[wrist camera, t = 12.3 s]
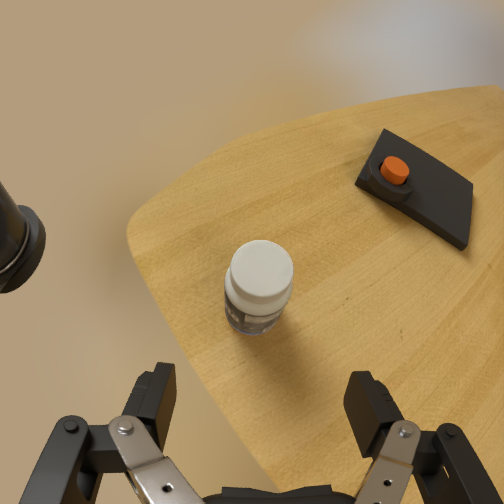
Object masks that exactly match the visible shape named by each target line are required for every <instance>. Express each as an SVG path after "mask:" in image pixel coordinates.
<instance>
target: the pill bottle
mask: <svg viewBox="0 0 504 504" xmlns="http://www.w3.org/2000/svg"><path fill="white" fill-rule="evenodd" d="M293 274H294V267H293V262H292V260H291V257H290V256H289V254H288V253H287V252H286V251H285V250H284V249H283V248H282V247H281V246H279V245H277V244H276V243H273V242H270V241H266V240H255V241H251V242H248V243H246V244H244V245H243V246H241V247H240V248H239V249H238V250H237V251H236V252H235V254H234V256H233V258H232V261H231V265H230V267H229V268H228V270H227V273H226V277H225V313H226V317H227V319H228V321H229V323H230V324H231V326H232V327H233V328H234V329H236V330H237V331H239V332H240V333H243V334H246V335H260V334H263V333H266V332H267V331H269V330H270V329H271V328H272V327H273V326H274V325H275V324H276V322H277V321H278V319H279V317H280V315H281V313H282V311H283V309H284V307H285V306H286V304H287V302H288V300H289V298H290V296H291V293H292V279H293Z"/></svg>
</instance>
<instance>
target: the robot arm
mask: <svg viewBox="0 0 504 504" xmlns="http://www.w3.org/2000/svg"><path fill="white" fill-rule="evenodd" d="M29 238H30V223H29V220H28V219H27V217H26V216H25V215H24V213H22V212H21V210H20V209H19V208H18V206H17V205H16V204H15V202H14V201H13V199H12V198H11V196H10V195H9V194H8V192H7V191H6V189H5V188H4V186H3V185H2V183H1V182H0V275H3V274H5V273H6V272H8V271H9V270H10V269H12V268H13V267H14V266H15V265H16V264H17V262H18V261H19V260H20V258H21V257H22V255H23V254H24V252H25V250H26V248H27V245H28V242H29ZM176 393H177V390H176V375H175V365H174V364H171V363H163V362H158V363H157V364H156V367H155V370H154V372H148V371H145V372H144V373H143V374H142V375H141V376H139V377H138V379H137V381H136V383H135V387H134V388H133V390H132V393H131V394H130V397H129V399H128V401H127V403H126V406H125V408H124V410H123V412H122V415H121V416H119V417H116V418H114V419H113V420H112V421H111V422H110V423H109V424H108V425H88V424H87V422H86V421H85V420H84V419H83V418H81V417H79V416H74V415H70V416H65V417H63V418H61V419H60V420H59V421H58V422H57V423H56V425H55V427H54V429H53V431H52V433H51V435H50V437H49V439H48V441H47V443H46V445H45V447H44V449H43V451H42V453H41V455H40V457H39V460H38V461H37V463H36V466H35V468H34V470H33V472H32V474H31V476H30V479H29V481H28V483H27V485H26V488H25V490H24V492H23V495H22V497H21V499H20V502H19V504H95V501H96V497H97V494H98V490H99V487H100V483H101V480H102V476H103V473H123V472H124V474H125V475H126V477H127V479H128V481H129V483H130V484H131V486H132V488H133V490H134V491H135V493H136V495H137V496H138V498H139V500H140V501H141V503H142V504H400V502H401V500H402V497H403V495H404V492H405V490H406V487H407V484H408V482H409V479H410V476H411V474H413V475H414V477H415V480H416V483H417V485H418V488H419V491H420V493H421V496H422V499H423V501H424V504H503V502H502V500H501V498H500V496H499V494H498V492H497V490H496V488H495V487H494V485H493V483H492V481H491V479H490V477H489V476H488V474H487V472H486V470H485V468H484V467H483V465H482V463H481V461H480V460H479V458H478V456H477V454H476V453H475V451H474V449H473V448H472V446H471V444H470V443H469V441H468V439H467V438H466V436H465V434H464V433H463V431H462V430H461V428H460V427H458V426H457V425H455V424H452V423H444V424H442V425H440V426H439V427H438V429H437V431H421V430H420V428H419V427H418V426H417V425H416V424H415V423H413V422H411V421H408V420H405V419H404V417H403V416H402V414H401V412H400V410H399V409H398V407H397V405H396V403H395V402H394V401H393V398H392V396H391V395H390V393H389V391H388V389H387V388H386V386H385V385H383V384H382V383H381V382H380V381H379V380H375V381H374V379H373V377H372V375H371V373H370V372H369V371H353V372H352V373H351V376H350V379H349V382H348V386H347V389H346V392H345V395H344V401H343V403H344V409H345V411H346V414H347V417H348V419H349V422H350V425H351V427H352V430H353V433H354V436H355V438H356V441H357V444H358V446H359V449H360V452H361V455H362V457H363V458H367V457H372V459H373V462H372V463H371V465H370V467H369V469H368V471H367V473H366V475H365V477H364V478H363V480H362V482H361V484H360V486H359V488H358V489H357V491H356V493H355V494H354V496H353V497H352V496H350V495H347V494H344V493H341V492H335V491H332V488H331V484H330V485H321V486H309V487H303V488H299V489H295V490H291V491H287V492H283V493H272V492H267V491H261V490H256V489H252V488H233V487H222V493H221V494H215V495H211V496H207V497H204V498H202V499H201V498H200V496H199V495H198V494H197V493H196V492H195V490H194V489H193V488H192V487H191V485H190V484H189V483H188V481H187V480H186V479H185V477H184V476H183V475H182V474H181V472H180V471H179V470H178V468H177V467H176V466H175V464H174V463H173V461H172V460H171V459H170V458H169V457H168V456H166V457H165V456H164V455H163V454H162V453H163V449H164V445H165V441H166V437H167V433H168V429H169V425H170V421H171V417H172V414H173V410H174V406H175V402H176ZM444 466H445V469H446V471H447V473H448V475H449V478H448V476H447V474H446V472H445V470H444V468H443V467H444Z"/></svg>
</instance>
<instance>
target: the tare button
mask: <svg viewBox="0 0 504 504" xmlns="http://www.w3.org/2000/svg"><path fill="white" fill-rule="evenodd" d="M380 172H381V175H382V176H383V177H384V178H385V179H386V180H387V181H389V182H390V183H392V184H394V185H401V184H403V182H404V181H405V179H406V178H407V176H408V174H409V168H408V166H407V165H406V163H405V162H403V161H402V160H401V159H399V158H397V157H393V156H389V157H387V158H386V159H385V161H384V162H383V164H382V166H381V169H380Z"/></svg>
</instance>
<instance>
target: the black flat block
mask: <svg viewBox="0 0 504 504" xmlns="http://www.w3.org/2000/svg"><path fill="white" fill-rule="evenodd" d="M389 156H393V157H397V158H399V159H401V160H402V161H403V162H405V163H406V165H407V166H408V168H409V174H408V176H407V178H406V179H405V181H404V182H403V184H401V185H394V184H392V183H390V182H389V181H387V180H386V179H385V178H384V177H383V176H382V175H381V172H380V169H381V166H382V164H383V162H384V161H385V159H386V158H387V157H389ZM355 185H357V186H358V187H360V188H362V189H364V190H366V191H367V192H369V193H371V194H373V195H374V196H376V197H378V198H379V199H381V200H383V201H385V202H386V203H388V204H390V205H391V206H393V207H395V208H396V209H398V210H400V211H401V212H403V213H404V214H406V215H408V216H409V217H411V218H413V219H414V220H416V221H417V222H419V223H420V224H422V225H424V226H425V227H427V228H428V229H430V230H431V231H433V232H434V233H436V234H437V235H439V236H440V237H442V238H443V239H445V240H446V241H448V242H449V243H451V244H452V245H453V246H455V247H456V248H458V249H459V250H461V251H462V250H463V249H465V248H466V247H467V246H468V239H469V230H470V221H471V210H472V195H473V184H472V183H471V182H470V181H468V180H467V179H465V178H464V177H463V176H461V175H460V174H458V173H457V172H455V171H454V170H452V169H451V168H449V167H448V166H446V165H445V164H443V163H442V162H440V161H439V160H437V159H436V158H434V157H433V156H431V155H429V154H428V153H426V152H424V151H423V150H421V149H420V148H418V147H416V146H415V145H413V144H411V143H409V142H408V141H406V140H404V139H402V138H401V137H399V136H397V135H395V134H394V133H392V132H390V131H388V130H386V129H383V131H382V133H381V135H380V137H379V139H378V141H377V143H376V144H375V146H374V148H373V150H372V152H371V154H370V156H369V158H368V159H367V161H366V163H365V165H364V167H363V169H362V171H361V172H360V174H359V176H358V178H357V180H356V182H355Z"/></svg>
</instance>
